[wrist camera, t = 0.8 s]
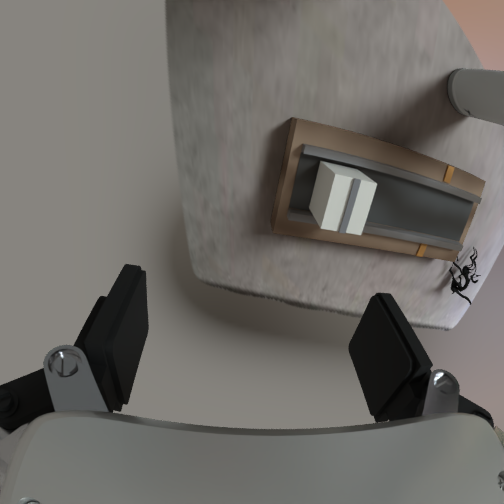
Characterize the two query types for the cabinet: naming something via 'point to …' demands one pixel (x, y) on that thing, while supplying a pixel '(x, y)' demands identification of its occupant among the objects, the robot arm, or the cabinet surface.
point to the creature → (465, 273)
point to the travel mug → (478, 93)
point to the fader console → (378, 193)
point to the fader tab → (341, 198)
